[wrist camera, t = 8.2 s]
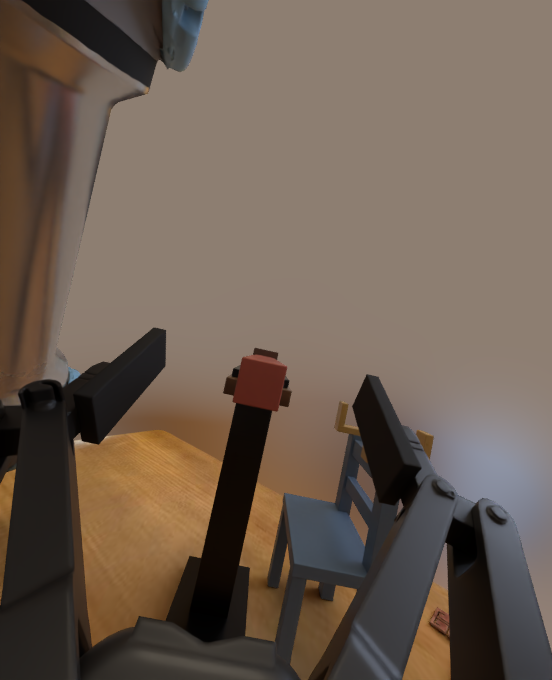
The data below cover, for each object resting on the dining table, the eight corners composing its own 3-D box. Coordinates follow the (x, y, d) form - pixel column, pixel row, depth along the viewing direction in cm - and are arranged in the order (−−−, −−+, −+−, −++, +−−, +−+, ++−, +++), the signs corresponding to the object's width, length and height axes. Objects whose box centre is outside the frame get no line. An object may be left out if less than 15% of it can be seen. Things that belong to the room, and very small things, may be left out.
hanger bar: (285, 413, 13) (298, 353, 14) (224, 400, 13) (238, 340, 14) (272, 374, 37) (277, 352, 38) (250, 369, 37) (255, 348, 37)
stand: (237, 702, 22) (304, 384, 24) (143, 685, 22) (217, 365, 23) (248, 566, 36) (290, 372, 38) (191, 555, 36) (235, 360, 37)
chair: (386, 714, 23) (435, 436, 25) (267, 692, 23) (324, 413, 24) (345, 591, 35) (380, 409, 37) (266, 576, 35) (305, 393, 36)
